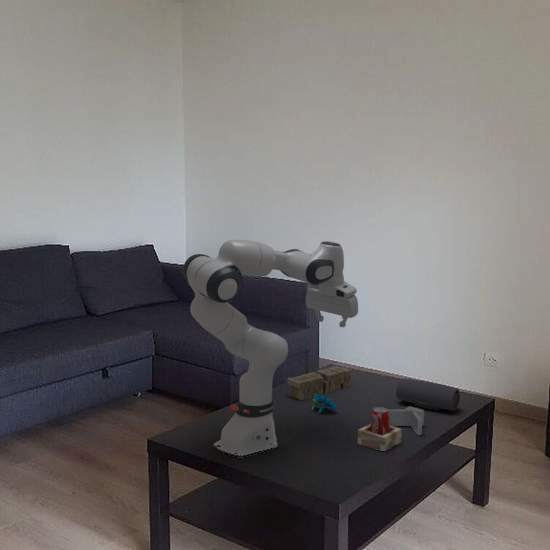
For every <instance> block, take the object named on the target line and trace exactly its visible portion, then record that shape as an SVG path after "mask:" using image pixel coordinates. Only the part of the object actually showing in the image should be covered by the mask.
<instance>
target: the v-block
mask: <svg viewBox="0 0 550 550" xmlns="http://www.w3.org/2000/svg"><path fill="white" fill-rule="evenodd" d="M388 412H389V414H390V422H389V425H390V426H411V429H412V428H413V429H414V431H415V432H416V434H417V435H422V434H423V433H422V432H423V426H424V419H425V418H424V416H425V410H424V409H421V408H419V407H414V406H411V405H409V406H408V407H407V406H406V407H405V408H403V409H402V408H401V409H399V408H398V409H388ZM422 425H423V426H422ZM413 429H412V430H413ZM414 431H413V432H414ZM415 432H414V433H415ZM416 434H415V435H416ZM417 435H416V436H417Z"/></svg>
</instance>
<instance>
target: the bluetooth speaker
mask: <svg viewBox="0 0 550 550" xmlns="http://www.w3.org/2000/svg"><path fill="white" fill-rule="evenodd" d="M395 395H396V398H397V399H398V400H400V401H404V402H406V403H407V402H408V403H412V404H413V406H414V405H415V407H417V406H419V407H418V408H422V407H424V408H423V409H427V408H430V409H429V410H431V409H438V410H437V411H440V410H446V411H447V410H449V411H456V410H457V409H458V407H459V404H460V401H461V400H460V399H461V394H460V389H459V388H456V387H453V386H450V385H447V384H440V383H436V382H430V381H425V380H420V379H412V378H400V379H399V380H398V382H397V385H396V390H395ZM439 409H440V410H439Z"/></svg>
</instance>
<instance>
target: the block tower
mask: <svg viewBox="0 0 550 550" xmlns="http://www.w3.org/2000/svg"><path fill="white" fill-rule="evenodd" d="M351 383H352V369H351V368H349V367H348V368H346V367H344V366H340V367H339V366H337V365H336V366H332V367H326V368H324V369H321V370H317V371H316V372H315V371H312V372H309V373H304V374H301V375H299V376H294V377H287V385H289V397H291V396H292V397H291V398H294V399H297V400H300V401H306V399H307V400H308V399H313V398H312V397H314V395H315V394H316V395H317V394H320V395H321V396H322V395H323V396H324V394H325V393H326V394H329V393H332V391H333V392H336V391H340V390H341V389H346V387H347V388H349V386H350V387H351ZM335 390H336V391H335Z"/></svg>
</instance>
